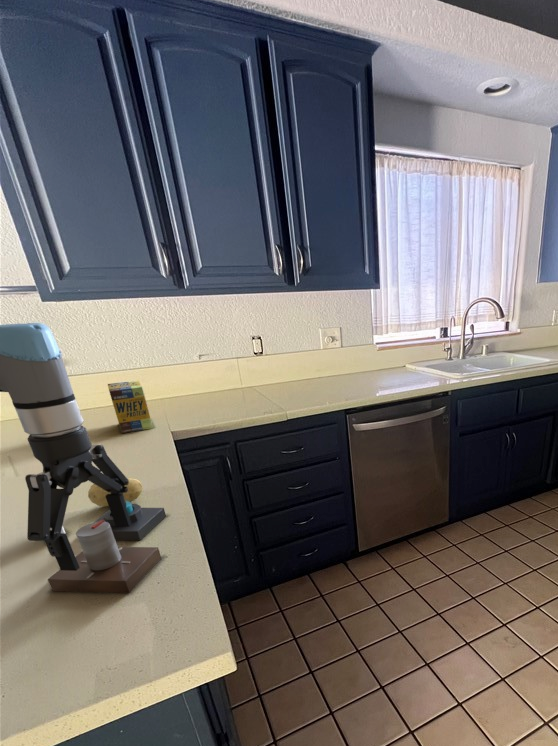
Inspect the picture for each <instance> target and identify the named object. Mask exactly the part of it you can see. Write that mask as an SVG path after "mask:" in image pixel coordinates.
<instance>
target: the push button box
mask: <svg viewBox="0 0 558 746" xmlns="http://www.w3.org/2000/svg"><path fill="white" fill-rule="evenodd" d="M131 505H132V508H133V511H132V512H131V513H129V514H128V515H129V518H130V521H131V524H132V525H130V526H129V527H128V526H115V523H114V520H113V517H112V514H111V511H110V509H108V510H106V511H105V512H104V513H103V514H102V515H101V516H100V517H98V518H96V520H94V521H92V523H94V522H99V521H100V520H104V522H108V523H109V524H110V527H111V529H112V532H113V535H114V538H115V541H141V540H142V539H144V538H145V537H146V536H147V535H148V534H149V533H150V532H151V531H152V530H153V529H154V528H156V527H157V525H159V523H161V522H162V521H163V520H164V519H165V518H166V517H167V515H166V511H165V510H166V509H165V508H164V507H142V506H141V505H140V504H138V503H131Z"/></svg>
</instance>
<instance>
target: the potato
mask: <svg viewBox="0 0 558 746" xmlns="http://www.w3.org/2000/svg"><path fill="white" fill-rule="evenodd" d="M126 478H127V477H126ZM127 479H128V480H129V484H128V485H125V486H127V488H128V491H127V492H126V493H123V495H124V498H125V501H128V502H130V503H131V502H133V501H135V500H136V499H138V498H139V497H140V496H141V494H142V491H143V485H142V483H141V481H140V480H138V479H136V478H129V477H128V478H127ZM87 493H88V494H87V497H88V499H89V500H90V502H91V503H92V504H94V505H95V506H98V507H103V508H104V507H105V508H106V507H109V506H108V503H107V500H106V497H105V496H106V495H107V494H111V493H109V492H107V491H105V490H104V489H102V488H100V487H99V486H97V485H95V484H94V483H92V484H91V485H90V488H89V489H88V492H87Z"/></svg>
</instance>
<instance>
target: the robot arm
mask: <svg viewBox="0 0 558 746" xmlns="http://www.w3.org/2000/svg"><path fill="white" fill-rule="evenodd" d="M62 355H63V354H62V351H61V350H60V348H59V346H58V344H57V341H56V338H55V336H54V334H53V332H52V330H51V328H50V327H49V326H48V325H46V324H45V323H41V322H27V323H7V324H6V323H5V324H0V393H8V395H9V397H10V399H11V402H12V405H13V407H14V409H15V412H16V414H17V417H18V419H19V421H20V424H21V427H22V429H23V432H24V433H26V434H27V435H28V437H27V442H28V445H29V447H30V449H31V451H32V454H33V456H34V458H35V459H36V460H37V461H38V462H40V463H41V464H42V472H39V473H36V474H35V473H33V474H32V473H31V474H27V475H25V477H24V480H25V483H26V486H27V489H28V498H27V499H28V501H27V503H28V504H27V532H26V533H27V537H26V538H27V540H28V541H29V542H44V543H45V546H46V548H47V550H48V552H49V555H50V556H51V557H54V558H55V560H56V563H57V566H58V567H59V570H67V571H77V570H78V569H79V568H80V567H79V564H78V562H77V560H76V555H75V552H74V550H73V547H72V545H71V543H70V540H69V538H68V536H67V533H66V534H62V533H61V529H62V525H63V524H64V520H65V516H66V513H67V512H66V511H67V506H68V502H69V499H70V496H71V495H72V494H73V493H74V490H75V489H76V488H78V487H79V486H81V484H82V483H86V482H88V481H89V482H90V483H92V484H95V485H97V486H99V487H100V488H102V489H104V490H105V491H107V492H109V493H111V494H107V495H106V496H105V497H106V500H107V503H108V506H107V507H108V508H109V510H110V511H111V514H112V517H113V520H114V523H115V526H128V527H129V526H130V525H132V524H131V521H130V518H129V515H128V512H127V509H126V501H125V498H124V495H123V493H126V492H127V491H128V488H127V486H125V485H128V484H129V480H128V479H127V477H126V475H125V474H124V473H123V472H122V471H121V469H120V468H119V467H118V466H117V464H116V463H114V461H113V460H112V459H111V458H110V457H109V455H108V453H107V451H106V449H105V446H104V445H102V444H92V442H91V439H90V436H89V434H88V431H87V428H86V427H85V426H83V424H84V422H85V420H84V418H83V415H82V413H81V412H82V411H81V410H80V407H79V404H78V402H77V401H78V400H77V398H76V397H75V393H74V390H73V387H72V385H71V381H70V379H69V375H68V373H67V369H66V366H65V363H64V361H63V357H62ZM93 464H94V465H95V466H94V465H93ZM58 487H59V488H58ZM63 526H64V525H63ZM50 528H52V530H50Z"/></svg>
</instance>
